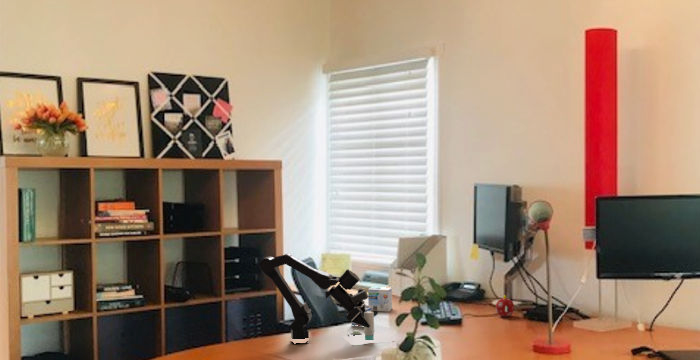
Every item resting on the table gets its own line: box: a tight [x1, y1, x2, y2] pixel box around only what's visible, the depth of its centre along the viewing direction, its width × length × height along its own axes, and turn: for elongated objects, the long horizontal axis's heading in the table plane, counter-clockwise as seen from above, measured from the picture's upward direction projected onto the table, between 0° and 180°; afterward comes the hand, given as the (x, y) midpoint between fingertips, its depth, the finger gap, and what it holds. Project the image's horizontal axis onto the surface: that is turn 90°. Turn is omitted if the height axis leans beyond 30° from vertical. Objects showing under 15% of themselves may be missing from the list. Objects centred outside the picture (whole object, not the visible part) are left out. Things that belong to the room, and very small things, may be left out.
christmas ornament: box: [495, 294, 516, 318], centre depth 359 cm, size 9×9×10 cm
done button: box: [352, 329, 360, 335], centre depth 326 cm, size 3×3×2 cm
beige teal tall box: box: [363, 311, 375, 340], centre depth 317 cm, size 4×4×12 cm
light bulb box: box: [367, 286, 393, 312], centre depth 381 cm, size 11×7×11 cm, turn 73°
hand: (370, 324), depth 317 cm, fingers open, 9 cm apart
